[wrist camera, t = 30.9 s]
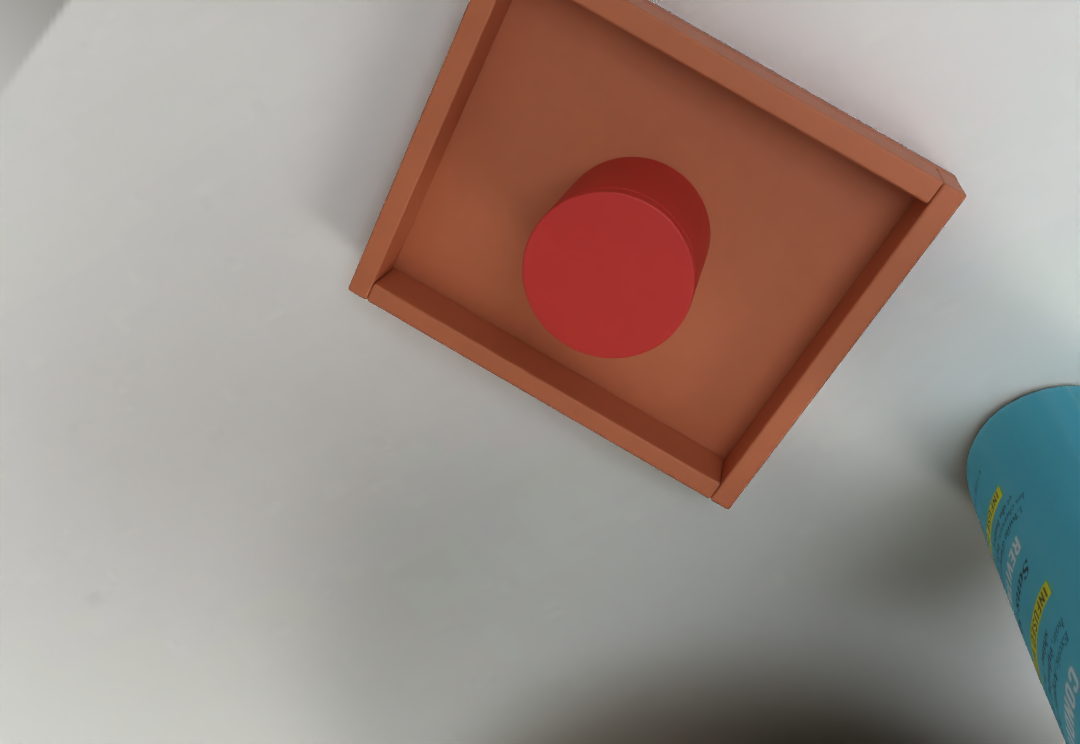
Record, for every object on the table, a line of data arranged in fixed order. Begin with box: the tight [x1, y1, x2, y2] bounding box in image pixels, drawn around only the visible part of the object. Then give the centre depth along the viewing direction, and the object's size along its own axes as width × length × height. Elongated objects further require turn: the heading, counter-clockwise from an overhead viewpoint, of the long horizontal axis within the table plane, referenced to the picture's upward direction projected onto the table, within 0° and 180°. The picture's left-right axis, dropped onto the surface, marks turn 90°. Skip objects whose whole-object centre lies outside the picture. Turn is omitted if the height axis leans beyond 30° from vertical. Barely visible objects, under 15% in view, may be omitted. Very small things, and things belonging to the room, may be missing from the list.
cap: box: [522, 157, 710, 358], centre depth 24 cm, size 4×4×4 cm
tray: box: [349, 0, 966, 509], centre depth 25 cm, size 12×10×2 cm
